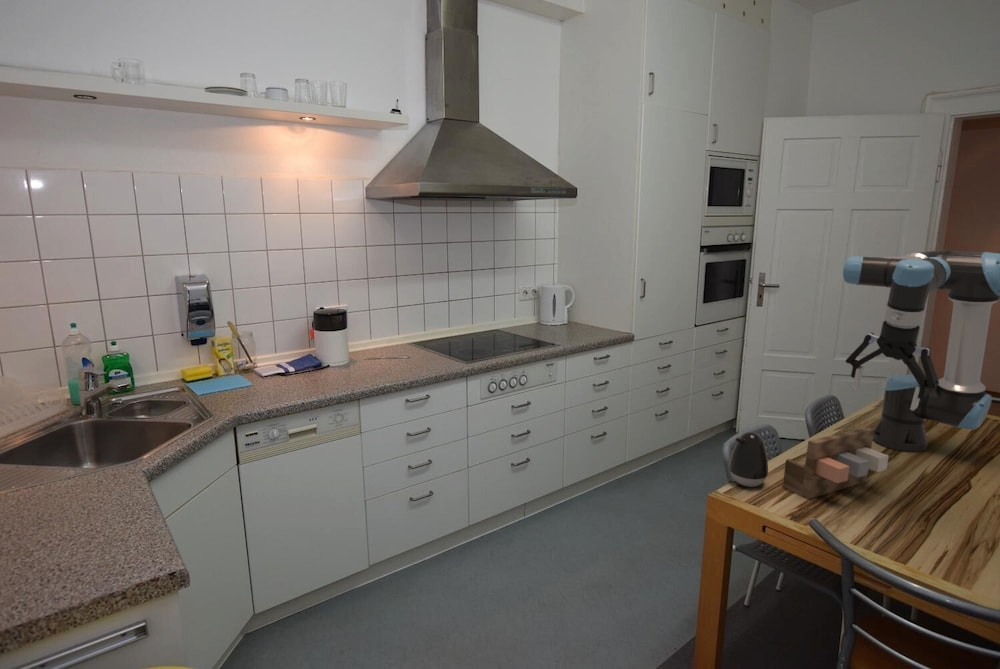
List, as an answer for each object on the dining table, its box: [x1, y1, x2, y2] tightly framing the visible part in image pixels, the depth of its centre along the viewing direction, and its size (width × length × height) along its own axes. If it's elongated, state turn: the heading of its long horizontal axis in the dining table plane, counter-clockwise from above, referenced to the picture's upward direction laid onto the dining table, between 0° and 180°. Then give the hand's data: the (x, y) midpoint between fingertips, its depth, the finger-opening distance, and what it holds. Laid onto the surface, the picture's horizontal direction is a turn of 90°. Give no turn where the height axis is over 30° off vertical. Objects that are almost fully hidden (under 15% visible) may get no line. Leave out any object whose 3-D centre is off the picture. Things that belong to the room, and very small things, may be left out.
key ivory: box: [856, 447, 889, 473], centre depth 157 cm, size 4×8×4 cm, turn 24°
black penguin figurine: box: [728, 431, 769, 488], centre depth 160 cm, size 10×10×15 cm
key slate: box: [836, 451, 869, 478], centre depth 154 cm, size 4×8×4 cm, turn 24°
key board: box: [782, 426, 875, 500], centre depth 159 cm, size 24×8×16 cm, turn 114°
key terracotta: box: [815, 456, 850, 483], centre depth 151 cm, size 4×8×4 cm, turn 24°
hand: (883, 398), depth 147 cm, fingers open, 13 cm apart
